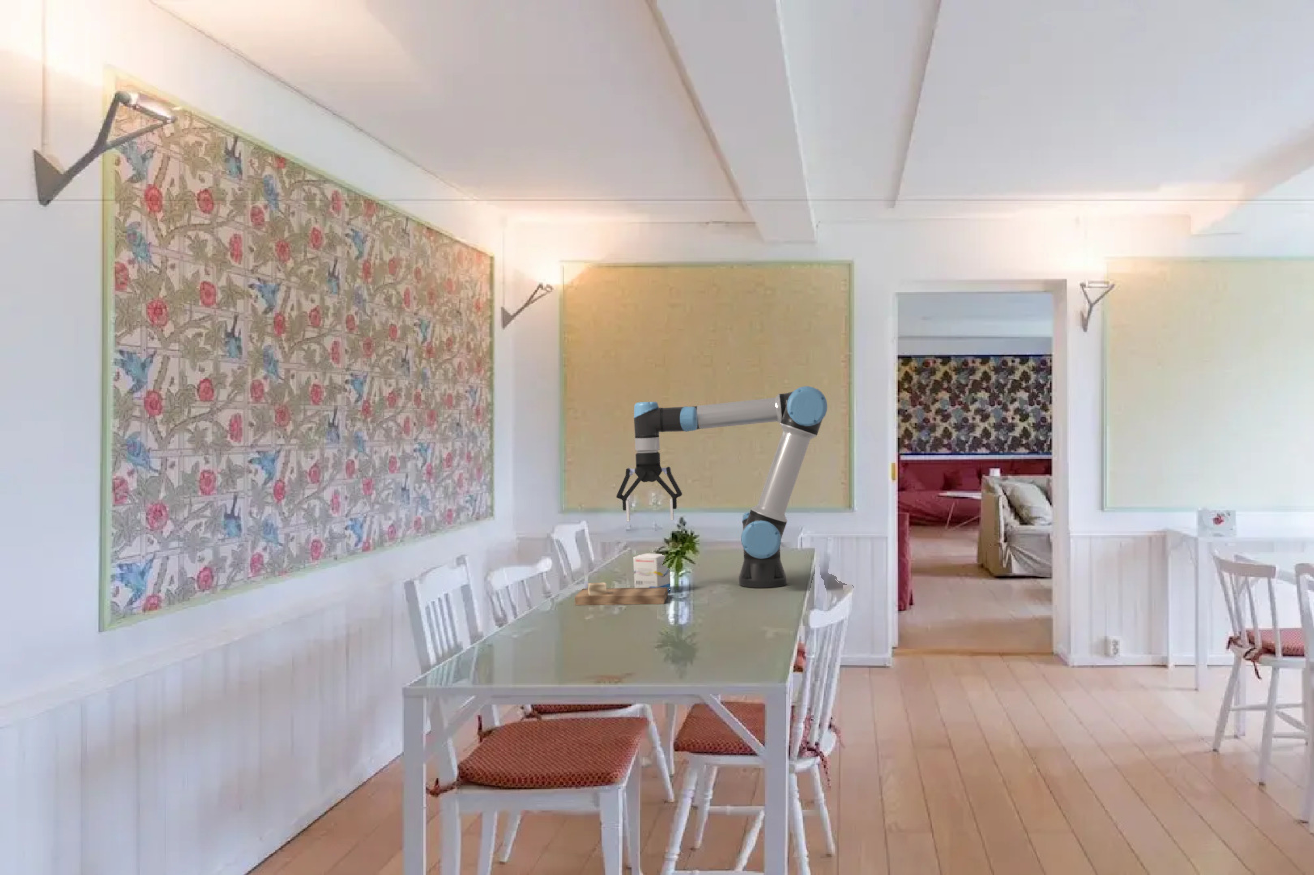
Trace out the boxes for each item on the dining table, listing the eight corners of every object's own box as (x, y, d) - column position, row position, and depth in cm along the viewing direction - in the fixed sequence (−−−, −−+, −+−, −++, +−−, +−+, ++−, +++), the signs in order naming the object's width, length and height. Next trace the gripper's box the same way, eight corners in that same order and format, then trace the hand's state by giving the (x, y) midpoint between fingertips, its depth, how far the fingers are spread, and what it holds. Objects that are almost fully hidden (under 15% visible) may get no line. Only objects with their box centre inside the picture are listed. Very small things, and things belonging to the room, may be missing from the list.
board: (667, 595, 309) (667, 586, 308) (663, 603, 295) (663, 594, 295) (583, 596, 311) (582, 588, 311) (575, 605, 297) (575, 596, 297)
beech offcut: (605, 592, 303) (604, 582, 303) (606, 594, 299) (606, 584, 299) (588, 593, 302) (588, 583, 302) (589, 595, 298) (589, 585, 298)
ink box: (671, 591, 317) (670, 553, 317) (657, 595, 309) (656, 557, 309) (647, 589, 321) (646, 552, 321) (633, 593, 314) (632, 556, 314)
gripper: (688, 450, 316) (691, 518, 316) (609, 452, 318) (611, 520, 319) (687, 450, 309) (689, 520, 309) (605, 453, 311) (608, 522, 311)
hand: (650, 520), depth 314 cm, fingers open, 13 cm apart
